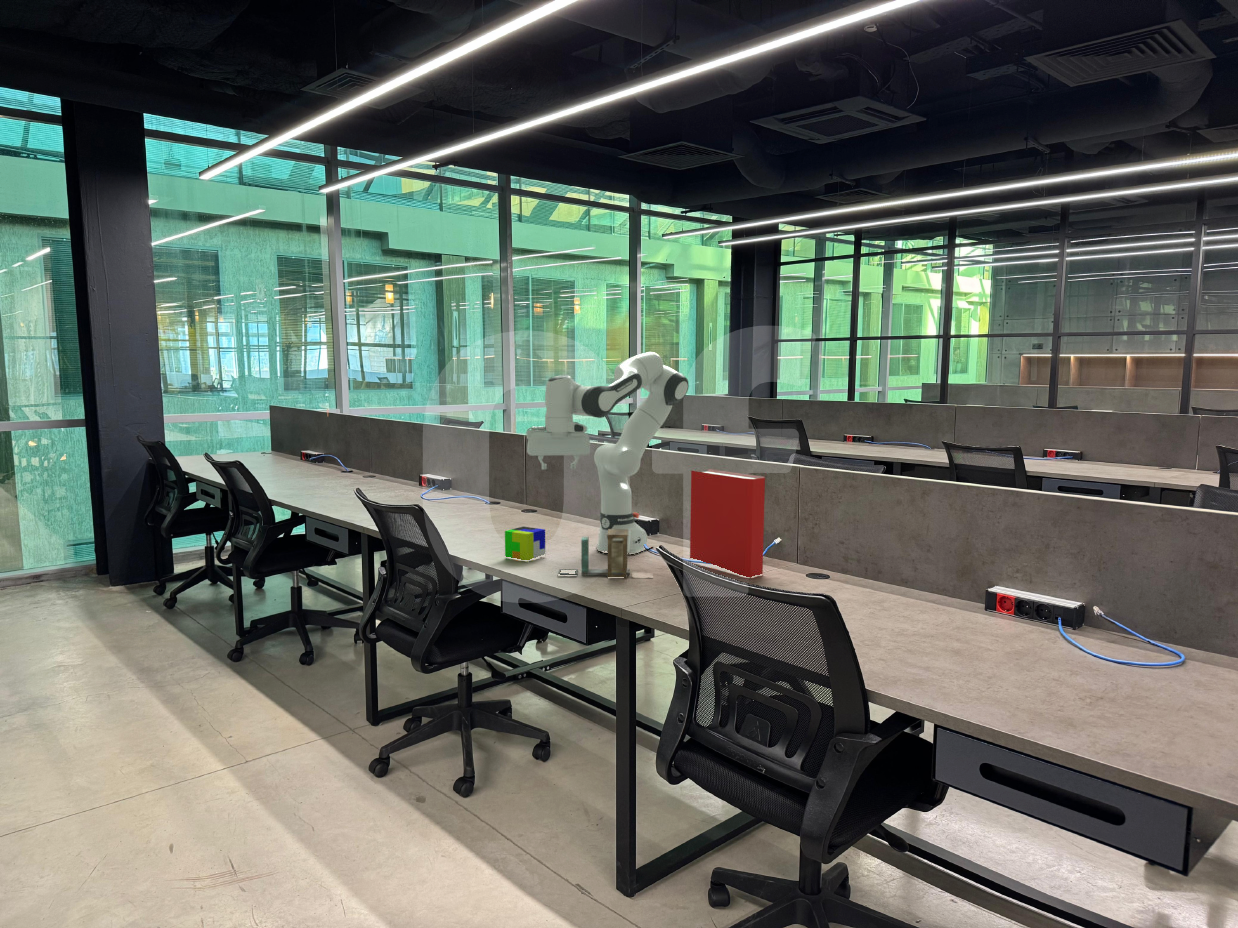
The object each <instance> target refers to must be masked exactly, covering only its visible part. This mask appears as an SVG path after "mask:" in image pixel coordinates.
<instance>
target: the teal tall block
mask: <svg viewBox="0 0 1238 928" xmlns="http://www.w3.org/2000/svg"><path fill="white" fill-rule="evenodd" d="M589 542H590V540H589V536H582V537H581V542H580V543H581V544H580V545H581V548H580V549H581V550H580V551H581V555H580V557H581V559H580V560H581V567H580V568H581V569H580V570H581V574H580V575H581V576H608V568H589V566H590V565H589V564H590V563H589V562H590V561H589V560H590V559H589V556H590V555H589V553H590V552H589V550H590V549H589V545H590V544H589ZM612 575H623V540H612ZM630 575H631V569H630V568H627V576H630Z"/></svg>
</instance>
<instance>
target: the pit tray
mask: <svg viewBox="0 0 1238 928" xmlns="http://www.w3.org/2000/svg"><path fill="white" fill-rule="evenodd" d="M561 570H576V571H575V574H569V573H560V572H561ZM577 572H578V573H579V569H573V568H572V569H571V568H569V569H568V568H567V569H566V568H559V570H558V571H557V575H558V574H560V575H577V576H578V574H577Z"/></svg>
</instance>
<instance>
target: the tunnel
mask: <svg viewBox="0 0 1238 928" xmlns="http://www.w3.org/2000/svg"><path fill="white" fill-rule="evenodd" d="M607 538H608V554H607V569H608V575H607V578H608V577H624V578H627V577H628V575H627V569H628V554H627V538H628V529H608V533H607ZM613 539H623V575H612V540H613ZM627 579H628V578H627Z"/></svg>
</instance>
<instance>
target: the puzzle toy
mask: <svg viewBox="0 0 1238 928" xmlns="http://www.w3.org/2000/svg"><path fill="white" fill-rule="evenodd" d="M544 554H545V555H546V529H545V528H536V527H529V526H519V527H516V528H512V529H511V528H510V529H508V530H504V557H505V556H506V557H511V558H517V559H521V560H530V559H532V558H536V557H538V556H541V555H544Z"/></svg>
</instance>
